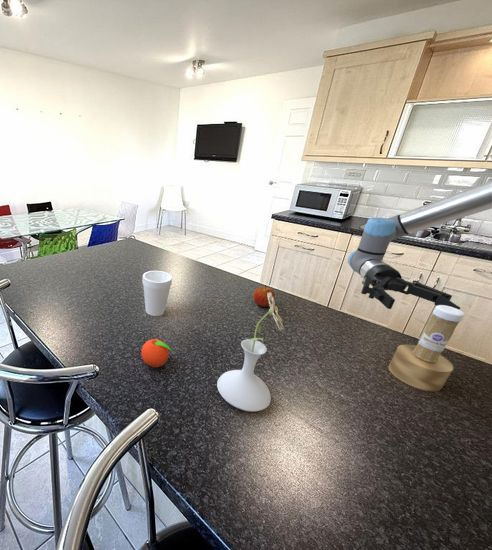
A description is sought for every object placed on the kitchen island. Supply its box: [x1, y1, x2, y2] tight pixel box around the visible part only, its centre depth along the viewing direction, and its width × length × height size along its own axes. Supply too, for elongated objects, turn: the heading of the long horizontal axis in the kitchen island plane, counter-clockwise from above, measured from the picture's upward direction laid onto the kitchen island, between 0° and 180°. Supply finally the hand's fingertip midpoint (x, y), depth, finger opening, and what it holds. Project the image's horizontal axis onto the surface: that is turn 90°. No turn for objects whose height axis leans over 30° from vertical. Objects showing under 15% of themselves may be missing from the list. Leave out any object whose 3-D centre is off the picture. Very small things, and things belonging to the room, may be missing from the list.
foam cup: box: [142, 270, 173, 317], centre depth 97 cm, size 10×9×13 cm
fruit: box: [252, 284, 276, 308], centre depth 103 cm, size 7×7×8 cm
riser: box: [388, 344, 454, 392], centre depth 72 cm, size 10×10×6 cm
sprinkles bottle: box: [412, 305, 465, 363], centre depth 68 cm, size 5×5×13 cm
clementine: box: [140, 338, 174, 368], centre depth 74 cm, size 8×7×7 cm
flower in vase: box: [216, 292, 285, 413], centre depth 62 cm, size 13×11×25 cm
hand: (423, 308), depth 74 cm, fingers open, 13 cm apart
